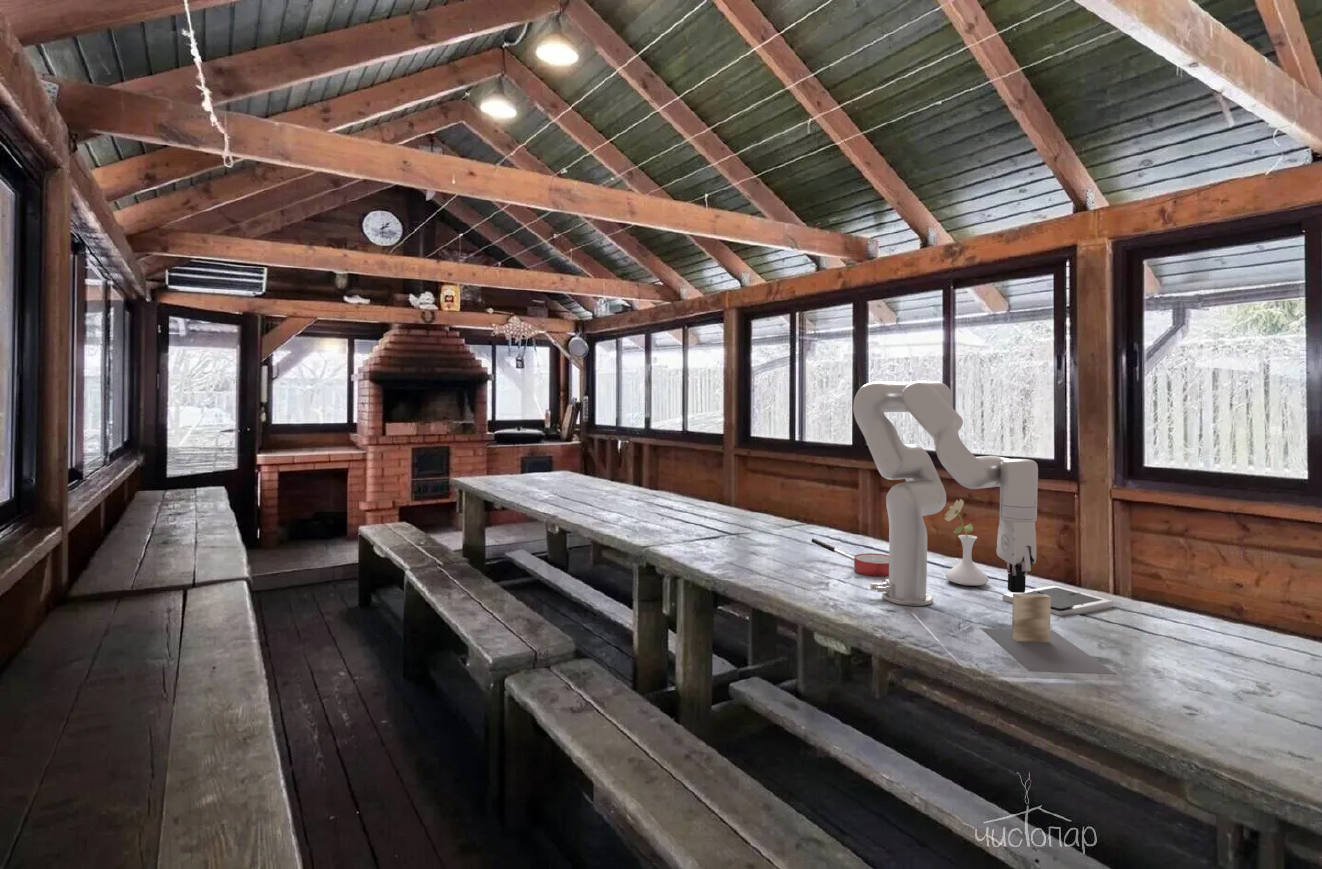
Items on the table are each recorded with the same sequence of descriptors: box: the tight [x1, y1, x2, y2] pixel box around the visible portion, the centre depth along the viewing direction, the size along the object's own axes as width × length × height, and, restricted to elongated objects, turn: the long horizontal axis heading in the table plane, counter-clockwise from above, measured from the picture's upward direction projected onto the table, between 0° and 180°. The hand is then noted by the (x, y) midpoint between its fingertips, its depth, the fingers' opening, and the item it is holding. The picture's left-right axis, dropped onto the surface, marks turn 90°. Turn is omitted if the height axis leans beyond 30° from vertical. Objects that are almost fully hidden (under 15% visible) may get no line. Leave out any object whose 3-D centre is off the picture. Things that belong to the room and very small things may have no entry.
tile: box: [1011, 594, 1051, 642], centre depth 142 cm, size 7×2×10 cm, turn 85°
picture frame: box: [1002, 584, 1114, 616], centre depth 170 cm, size 16×3×21 cm
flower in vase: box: [944, 498, 989, 587], centre depth 188 cm, size 13×11×25 cm
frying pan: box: [811, 537, 889, 578], centre depth 209 cm, size 32×13×6 cm, turn 41°
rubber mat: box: [980, 627, 1117, 675], centre depth 137 cm, size 16×24×1 cm, turn 175°
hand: (1016, 591), depth 149 cm, fingers closed
